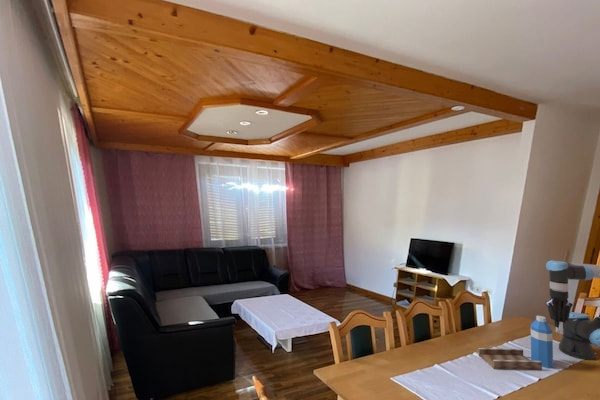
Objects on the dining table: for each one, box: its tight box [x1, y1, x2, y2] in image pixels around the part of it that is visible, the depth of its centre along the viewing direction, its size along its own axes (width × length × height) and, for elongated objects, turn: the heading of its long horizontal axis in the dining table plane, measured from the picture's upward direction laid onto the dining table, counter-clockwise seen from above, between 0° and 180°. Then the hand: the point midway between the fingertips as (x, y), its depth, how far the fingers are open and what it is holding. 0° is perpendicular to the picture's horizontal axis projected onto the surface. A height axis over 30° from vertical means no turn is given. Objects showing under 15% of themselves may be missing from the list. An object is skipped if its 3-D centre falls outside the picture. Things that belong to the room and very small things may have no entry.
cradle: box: [478, 347, 543, 371], centre depth 151 cm, size 24×13×4 cm, turn 89°
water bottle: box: [530, 315, 554, 369], centre depth 151 cm, size 9×9×25 cm
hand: (559, 333), depth 151 cm, fingers closed
